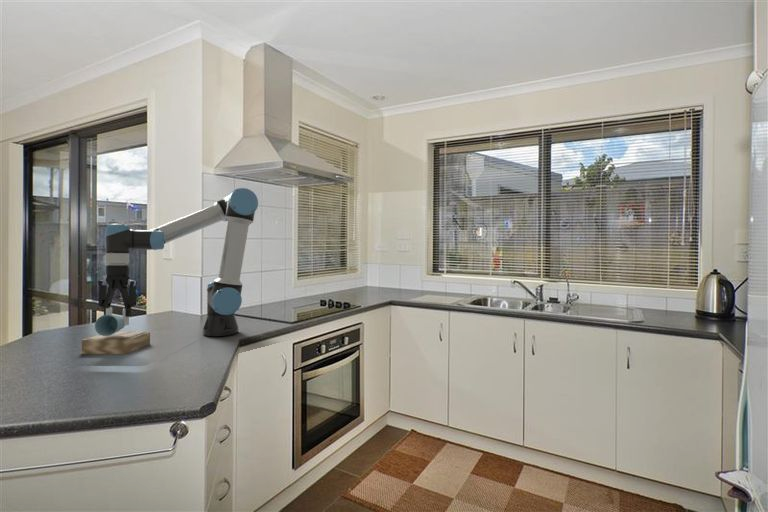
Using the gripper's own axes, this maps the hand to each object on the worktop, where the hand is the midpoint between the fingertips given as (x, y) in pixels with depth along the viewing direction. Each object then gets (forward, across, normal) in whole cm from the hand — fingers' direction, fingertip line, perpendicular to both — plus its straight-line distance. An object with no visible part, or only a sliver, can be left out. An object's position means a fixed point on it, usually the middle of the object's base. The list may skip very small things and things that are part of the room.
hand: (117, 325), depth 161 cm
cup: (+4, 0, +1) cm, 4 cm away
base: (+9, 0, 0) cm, 9 cm away
